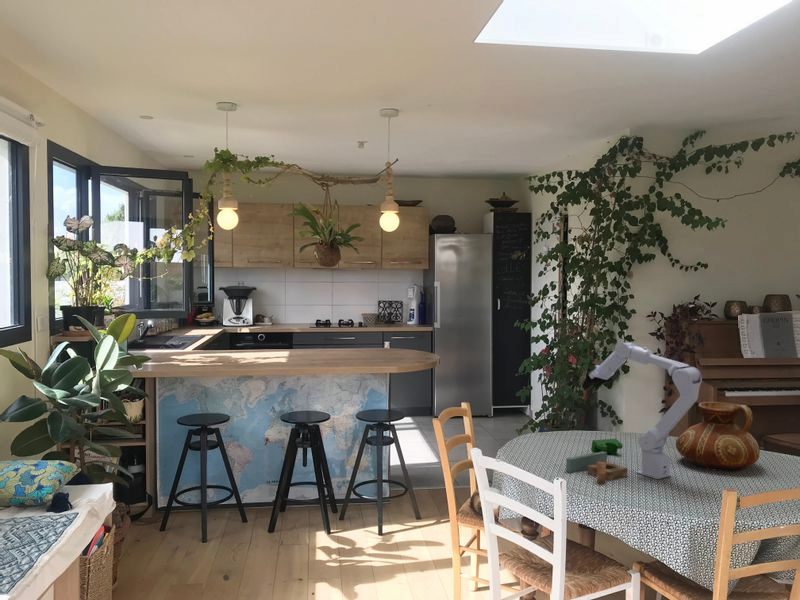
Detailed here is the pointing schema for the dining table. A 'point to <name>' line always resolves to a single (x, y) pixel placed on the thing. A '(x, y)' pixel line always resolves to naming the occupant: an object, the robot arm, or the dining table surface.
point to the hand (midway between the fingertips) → (589, 387)
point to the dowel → (601, 472)
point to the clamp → (606, 446)
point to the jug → (720, 439)
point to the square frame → (609, 471)
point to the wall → (584, 461)
